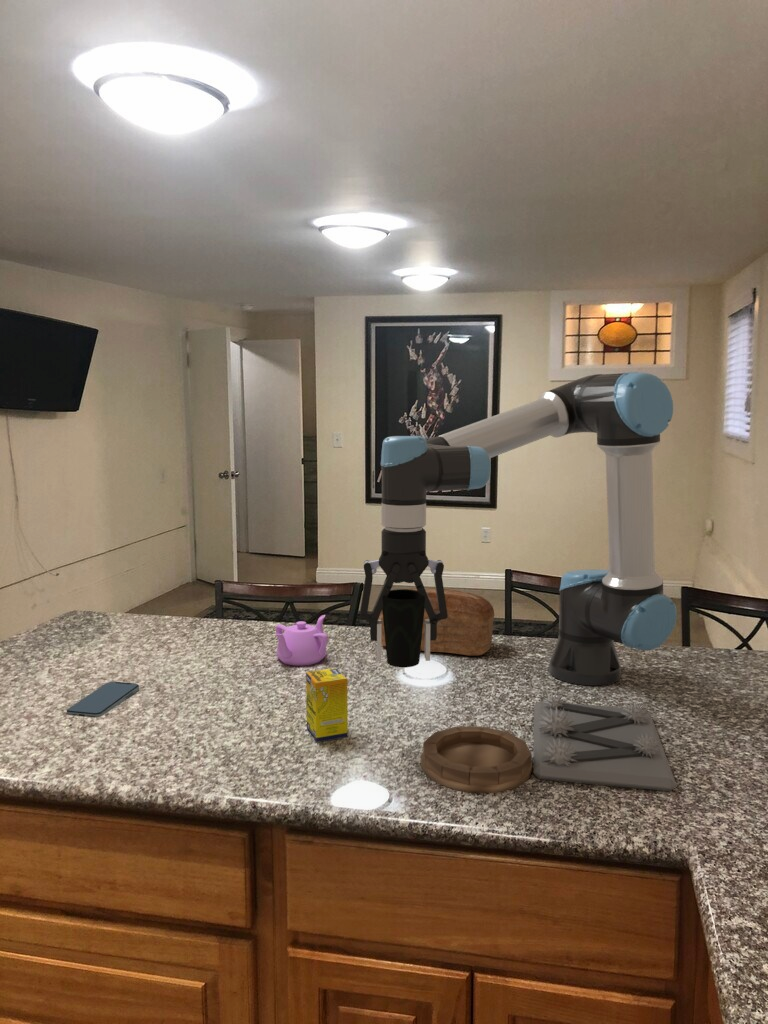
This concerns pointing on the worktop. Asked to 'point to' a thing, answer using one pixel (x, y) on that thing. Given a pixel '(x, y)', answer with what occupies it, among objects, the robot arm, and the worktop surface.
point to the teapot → (301, 643)
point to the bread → (458, 624)
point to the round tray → (476, 759)
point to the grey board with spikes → (599, 746)
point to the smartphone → (103, 699)
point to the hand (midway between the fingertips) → (403, 658)
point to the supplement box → (326, 704)
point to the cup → (403, 626)
